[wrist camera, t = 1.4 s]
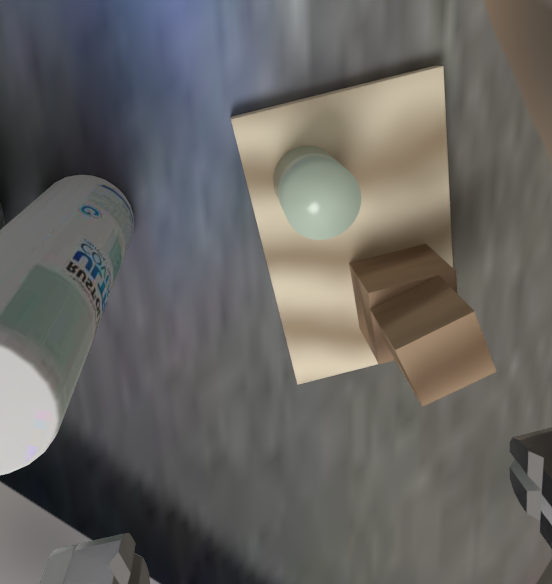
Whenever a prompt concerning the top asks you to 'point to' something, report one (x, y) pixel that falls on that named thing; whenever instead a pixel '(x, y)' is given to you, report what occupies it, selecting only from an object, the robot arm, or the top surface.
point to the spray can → (53, 304)
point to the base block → (392, 286)
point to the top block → (434, 339)
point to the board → (373, 211)
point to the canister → (316, 193)
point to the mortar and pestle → (1, 217)
